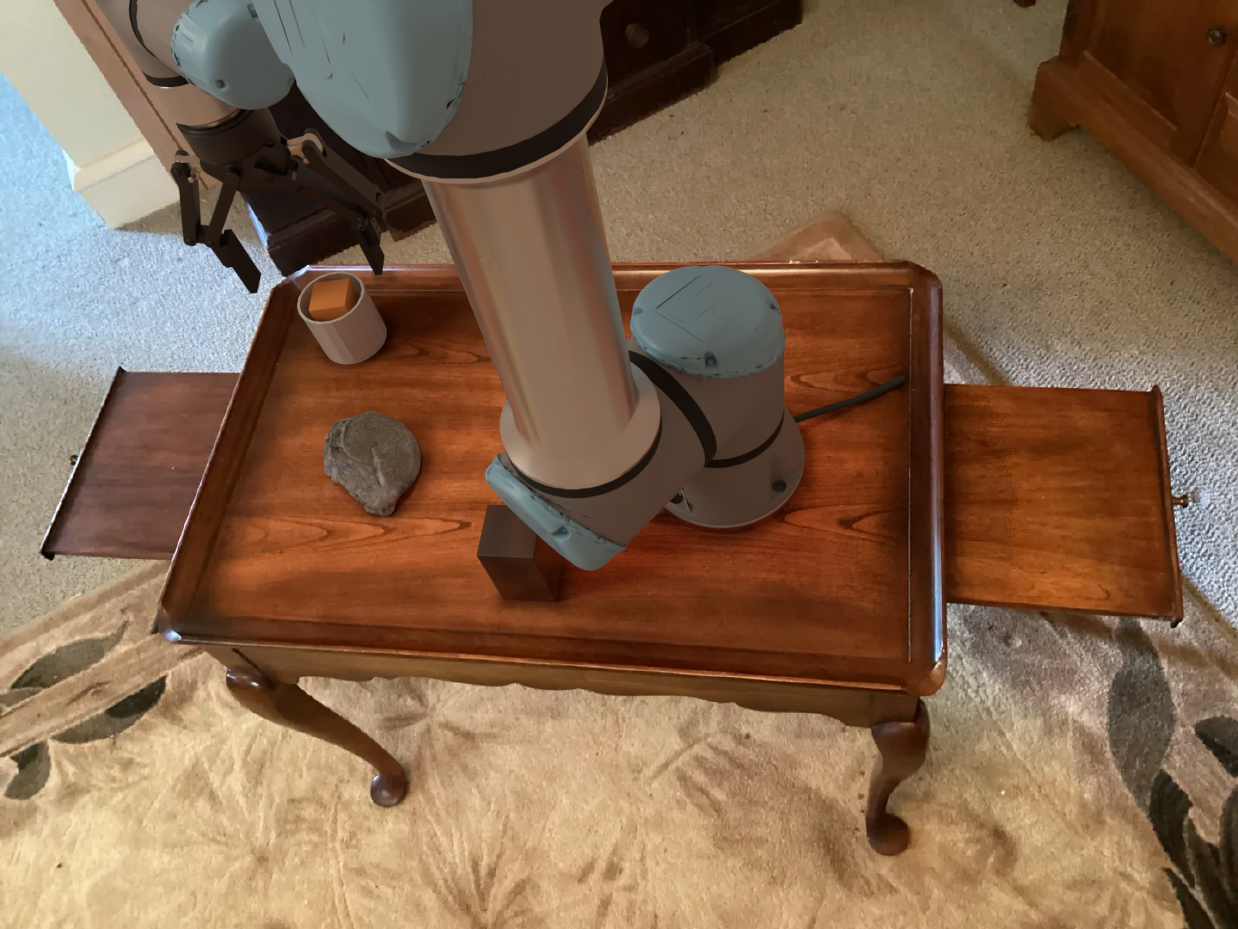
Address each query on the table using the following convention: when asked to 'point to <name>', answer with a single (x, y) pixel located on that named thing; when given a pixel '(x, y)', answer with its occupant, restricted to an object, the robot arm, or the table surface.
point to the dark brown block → (517, 557)
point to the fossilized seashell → (372, 459)
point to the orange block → (332, 299)
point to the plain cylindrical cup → (346, 324)
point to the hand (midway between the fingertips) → (317, 275)
